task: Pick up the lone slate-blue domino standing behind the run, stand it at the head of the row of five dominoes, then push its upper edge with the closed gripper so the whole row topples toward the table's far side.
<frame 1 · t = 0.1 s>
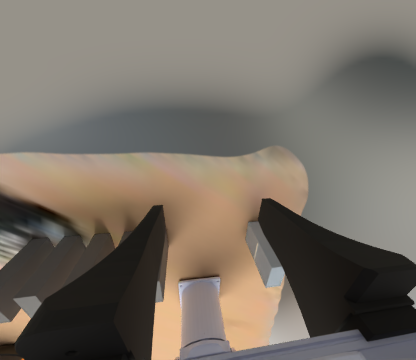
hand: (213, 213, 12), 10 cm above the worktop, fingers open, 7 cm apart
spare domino: (252, 230, 28), on the worktop
supplement container: (14, 352, 35), on the worktop
domino 5: (46, 248, 24), on the worktop
domino 1: (160, 238, 26), on the worktop
domino 3: (106, 243, 25), on the worktop
domino 4: (76, 245, 24), on the worktop
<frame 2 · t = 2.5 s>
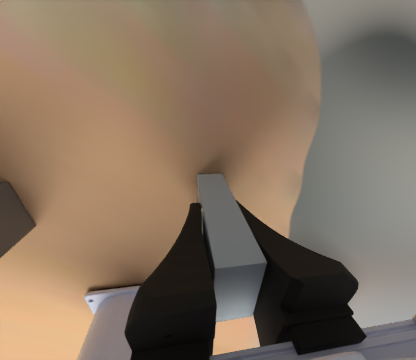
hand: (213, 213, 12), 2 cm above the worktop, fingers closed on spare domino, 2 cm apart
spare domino: (209, 195, 14), on the worktop, touching gripper
domino 1: (8, 206, 12), on the worktop
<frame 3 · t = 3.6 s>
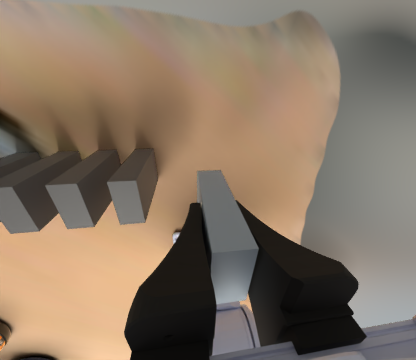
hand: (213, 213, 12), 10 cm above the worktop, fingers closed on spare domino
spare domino: (208, 190, 15), point 7 cm above the worktop, touching gripper
domino 1: (147, 165, 20), on the worktop
domino 3: (75, 168, 19), on the worktop
domino 2: (112, 166, 19), on the worktop
domino 4: (36, 169, 18), on the worktop
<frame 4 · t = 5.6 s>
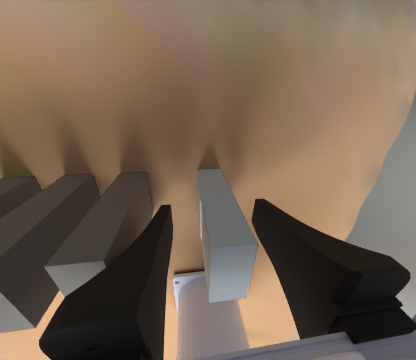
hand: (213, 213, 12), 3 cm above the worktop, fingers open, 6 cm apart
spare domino: (208, 189, 15), on the worktop
domino 1: (138, 194, 14), on the worktop, touching gripper
domino 3: (32, 199, 13), on the worktop
domino 2: (87, 196, 13), on the worktop
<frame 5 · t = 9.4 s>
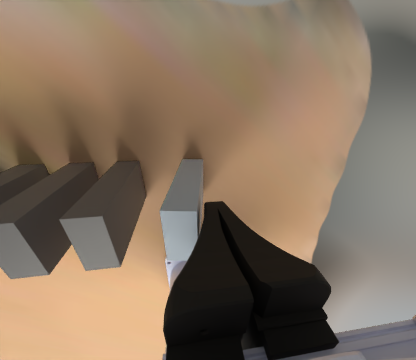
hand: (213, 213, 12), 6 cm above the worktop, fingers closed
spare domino: (193, 177, 17), on the worktop, tilted 8°, touching gripper
domino 1: (132, 180, 16), on the worktop
domino 3: (41, 184, 15), on the worktop
domino 2: (88, 182, 16), on the worktop
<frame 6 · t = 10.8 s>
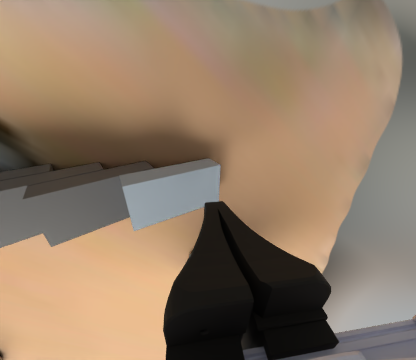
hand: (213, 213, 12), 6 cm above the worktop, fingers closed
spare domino: (213, 180, 16), point 1 cm above the worktop, tilted 67°
domino 1: (152, 183, 16), point 1 cm above the worktop, tilted 60°, touching domino 2
domino 3: (59, 187, 15), point 1 cm above the worktop, tilted 61°, touching domino 2, domino 4
domino 2: (107, 185, 15), point 1 cm above the worktop, tilted 59°, touching domino 1, domino 3
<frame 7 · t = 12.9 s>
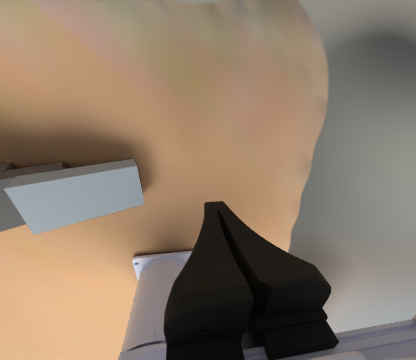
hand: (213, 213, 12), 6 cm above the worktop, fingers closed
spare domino: (139, 181, 16), point 1 cm above the worktop, tilted 68°, touching domino 1
domino 1: (70, 185, 15), point 1 cm above the worktop, tilted 60°, touching domino 2, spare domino
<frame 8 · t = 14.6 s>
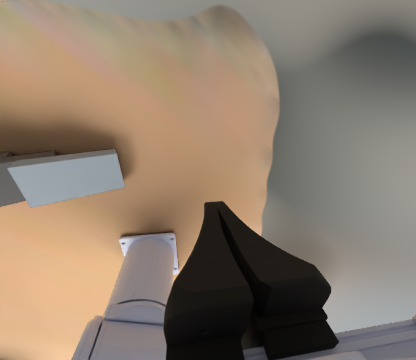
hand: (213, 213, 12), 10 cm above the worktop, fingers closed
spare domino: (120, 168, 19), point 1 cm above the worktop, tilted 68°, touching domino 1
domino 1: (62, 170, 18), point 1 cm above the worktop, tilted 61°, touching domino 2, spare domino
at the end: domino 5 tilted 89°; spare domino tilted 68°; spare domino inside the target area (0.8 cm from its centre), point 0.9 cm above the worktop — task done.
